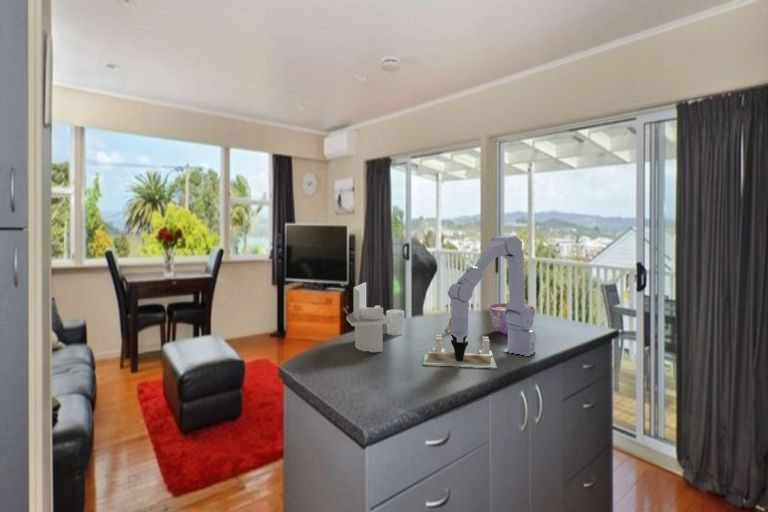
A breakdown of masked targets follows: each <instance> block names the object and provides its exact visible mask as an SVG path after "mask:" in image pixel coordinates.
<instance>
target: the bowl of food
mask: <svg viewBox="0 0 768 512" xmlns="http://www.w3.org/2000/svg"><path fill="white" fill-rule="evenodd" d="M507 304H509V302H508V303H505V302H504V303H503V302H502V303H501V302H500V303H492V304H489V305H488V307H487V308H488V312H489V316H490V321H491V324H492V326H493V327H494V329H495V330H497V331H498V332H500V333H501V334H502V333H503V335H505V334H506V336H508V327H507V324H506V323H505V322H504V313H505V306H506V305H507ZM528 306H529V307H530V308H531V313H532V316H533V319H534V317H535V314H536V310H537V309H536V307H535V306H531V305H528Z"/></svg>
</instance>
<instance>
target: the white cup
mask: <svg viewBox="0 0 768 512" xmlns="http://www.w3.org/2000/svg"><path fill="white" fill-rule="evenodd" d="M385 316H386V317H388V318H389V319H390V324H386V328H387V329H386V331H387V335H389V336H395V337H396V336H401V335H403V333H404V323H405V322H404V321H405V311H404V310H403V309H388V310H386V311H385Z"/></svg>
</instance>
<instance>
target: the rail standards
mask: <svg viewBox="0 0 768 512" xmlns="http://www.w3.org/2000/svg"><path fill="white" fill-rule="evenodd" d="M442 337H443V336H442V334H436V337H435V347H433V348H432V351H434V352H446V349H445V348H443V347H442V346H443V343H442V341H443V339H442ZM490 344H491V343H490V339H489V336H482V346H481V347H482V349H481V350H480V349H479V350H478V354H479V353H480V354H490V355H491V357H493V358H494V354H493V352H492V350H490V347H491V346H490Z"/></svg>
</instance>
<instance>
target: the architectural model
mask: <svg viewBox="0 0 768 512" xmlns="http://www.w3.org/2000/svg"><path fill="white" fill-rule="evenodd" d="M346 321H347V322H348V323H349V324H350V326H352V327H354V342H355V343H354V344H355V345H354V347H356V348H357V349H356V348H355V349H356V350H358V349H359V350H358V351H361V350H362V351H361V352H366V351H369V352H368V353H383V351H384V349H383V346H384V345H383V342H384V340H383V336H384V333H383V332H384V331H383V330H384V329H383V325H387V324H390V319H389V318H388V317H386V314H384V307H381V305H374V306H373V307H367V282H366V281H365V282H363V283H360V284H358V285H356V286H354V287H353V311H352V312H351V313H349V314H348V315H346Z"/></svg>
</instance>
